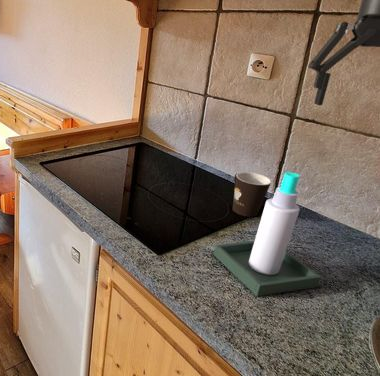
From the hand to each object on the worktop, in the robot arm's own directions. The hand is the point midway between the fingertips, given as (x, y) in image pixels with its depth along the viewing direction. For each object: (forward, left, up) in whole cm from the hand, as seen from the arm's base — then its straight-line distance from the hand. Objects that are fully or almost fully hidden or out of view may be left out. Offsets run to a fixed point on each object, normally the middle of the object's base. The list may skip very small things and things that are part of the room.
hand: (354, 106), depth 85 cm
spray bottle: (-8, +19, -33) cm, 39 cm away
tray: (-8, +19, -33) cm, 39 cm away
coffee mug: (+18, +4, -33) cm, 38 cm away
